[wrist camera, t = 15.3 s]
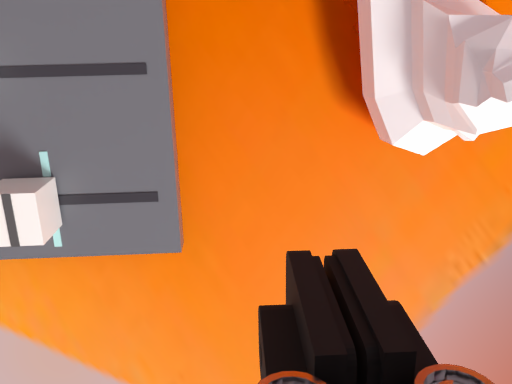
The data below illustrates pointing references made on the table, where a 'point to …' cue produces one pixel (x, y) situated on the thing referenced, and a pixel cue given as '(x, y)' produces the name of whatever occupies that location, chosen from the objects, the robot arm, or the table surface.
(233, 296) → the table surface
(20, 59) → the console
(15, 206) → the fader
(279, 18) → the table surface
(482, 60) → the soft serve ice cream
